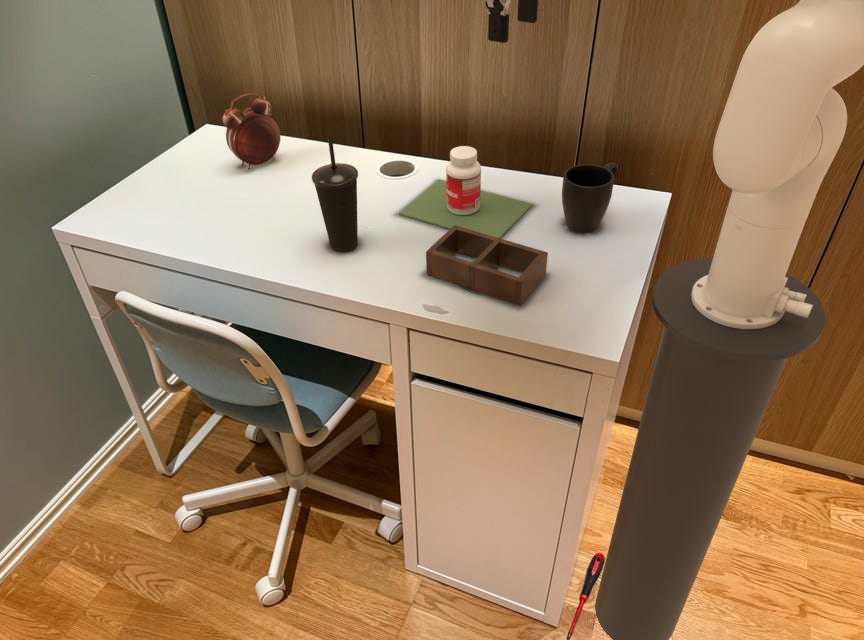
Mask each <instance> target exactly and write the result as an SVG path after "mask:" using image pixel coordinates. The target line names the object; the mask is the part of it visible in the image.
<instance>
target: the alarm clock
mask: <svg viewBox="0 0 864 640" xmlns="http://www.w3.org/2000/svg"><path fill="white" fill-rule="evenodd" d="M252 95H253V96H256V97H257V98H255V99H253V100H252V102H251V103H250V105H249V106H245V107H244V108H243V109H242V110H240V109H238V108H236V107H233V106H234V103H235V102H237V101H238V100H239V99H242V98H244V97H247V96H252ZM230 102H231V103H230V106H229V108H228V109H224V111H223V112H224V113H223V115H222V123H223V125H224V127H225V128H226V131H225V139H226V144H227V146H228V148H229V150H230V152H232V154H233V155H234V156H235V158H237V159H238V160H240V161H241V164H240V166H241V167H245V166H244V165H245V164H247V165H248V167H247V170H251V166H259V165H263V164H265V163H267V162H269V161H270V160H271V159H272V161H276V158H275V157H274V156H276V153H277V152H278V150H279V147H280V144H281V131H280V128H279V125H278V124H277V121H275V120H274V119H273V118H272V117H271V115H272V112H273V107H272V105H271V103H270V102H269V100H267V99H266V95H262V96H261V95H260V94H259V93H257V92H254V91H253V92H245V93H243V94H239V95H238V96H237V97H235V98H234V99H232V100H231V101H230Z"/></svg>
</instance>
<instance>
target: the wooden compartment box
mask: <svg viewBox="0 0 864 640" xmlns="http://www.w3.org/2000/svg"><path fill="white" fill-rule="evenodd" d="M456 253H459V254H462V255H465V256H468V257H472V258H475V259H474V260H473V262H472V261H469V260H467V259H464V258H460V257H456V256H454V255H455V254H456ZM548 256H549V252H548V251H544V250H541V249H538V248H535V247H530V246H527V245H524V244H520V243H517V242H514V241H511V240H507V239H504V238H497V237H494V236H490V235H487V234H483V233H480V232H476V231H473V230H470V229H466V228H463V227H459V226H456V225H454V226H453V227H452V228H451V229H448V230H447V232H445V233H444V234H443V235H441V237H439V239H438V240H437V241H435V242H434V244H432V245H431V246H430V247H429V248H428V249H427V250H426V251H425V263H426V264H425V265H426V275H428V276H430V277H433V278H436V279H439V280H442V281H446V282H448V283H452V284H455V285H458V286H460V287H463V288H467V289H469V290H472V291H474V292H478V293H481V294H484V295H487V296H489V297H493V298H496V299H499V300H502V301H505V302H508V303H511V304H514V305H517V306H522V304H523V303H524V302H525V301H526V299H528V297H529V296H530V295H531V294H532V292H533V291H534V290H535V289H536V288H537V287H538V286H539V284H540V283H541V282H542V281H543V280H544V278H546V276H547V269H548V267H547V266H548V258H549V257H548ZM498 266H501V267H504V268H508V269H510V270H514V271H517V272H520V273H521V274H520V275H519V276H517V275H514V274H511V273H507V272H504V271H501V270H498V269H496V268H497V267H498Z"/></svg>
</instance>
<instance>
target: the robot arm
mask: <svg viewBox="0 0 864 640" xmlns="http://www.w3.org/2000/svg"><path fill="white" fill-rule="evenodd" d="M511 2H512V0H503V2H501V1H500V0H485V7H486V13H487V15H488V23H487V24H488V25H487V26H488V27H487V39H488V42H495V43H502V44H506V43H507V42H509V36H510V14H509V13H508V10H509V7H510V5H511ZM538 9H539V0H517V21H518V22H522V23H530V24H534V23H536V22H537V21H538V12H539V11H538ZM863 66H864V0H799V1H798V3H796V4H795V5H793V6H792V7H790V8H788V9H786V10H784V11H782V12H781V13H779V14H777V15H776V16H774V17H773V18H771V19H770V20H768V21H767V22H766V23H765V24H764V25H763V26H762V27H760V29H759V30H758V31H757V33H756V34H755V35H754V36H753V38H752V39H751V41H750V42H749V44H748V46H747V48H746V49H745V51H744V53H743V56H742V58H741V60H740V63H739V65H738V68H737V71H736V74H735V76H734V80H733V83H732V87H731V89H730V91H729V94H728V97H727V100H726V104H725V106H724V109H723V112H722V115H721V118H720V121H719V124H718V127H717V130H716V133H715V137H714V141H713V146H712V160H713V165H714V169H715V172H716V173H717V176H718V178H719V179H720V180H721V182H722V183H723V184H724V186H726V187H727V188H728V189H730V190H732V191H731V194H730V197H729V202H728V203H727V208H726V210H725V211H726V212H725V215H724V219H723V221H722V225H721V229H720V232H719V236H718V240H717V242H716V245H715V246H716V247H715V251H714V253H713V256H712V257H713V260H712V264H711V267H710V271H709V274H708V275H707V276H704V277H702V278H701V279H699V280H698V281H697V282H696V283H695V284H694V286H693V289H692V293H691V300H692V302H693V305H694V306H695V308H696V309H697V310H698V311H699V312H700V313H701V314H702V315H704V316H705V317H707V318H708V319H710V320H712V321H714V322H716V323H718V324H721V325H724V326H728V327H732V328H737V329H761V328H765V327H769V326H771V325H773V324H775V323H777V322H778V321H779V320H780V319H781V318H782V317H783V315H784V312H785V311H786V312H789V313H793V314H794V315H798V316H801V317H805V318H808V316H809V314H810V311H811V309H812V306H813V305H811V304H807V303H804V300H805V298H806V294H802V293H798V292H793V291H789V288H786V287H785V285H786V282H787V279H788V278H787V277H785V275H786V273H787V272H788V270H789V267H790V265H791V262H792V259H793V256H794V254H795V251H796V249H797V245H798V243H799V240H800V238H801V235H802V232H803V230H804V227H805V224H806V221H807V220H808V217H809V215H810V212H811V209H812V208H813V207H812V206H813V204H814V201H815V199H816V197H817V194H818V192H819V189H820V187H821V185H822V183H823V180H824V178H825V177H826V175H827V173H828V171H829V169H830V167H831V165H832V163H833V161H834V159H835V157H836V155H837V154H838V151H839V149H840V147H841V145H842V142H843V140H844V137H845V134H846V130H847V125H848V111H847V107H846V104H845V102H844V99H843V98H842V96H841V95H840V94H839V92H837V91H836V90H835V88H833V87H835V86H837V85H838V84H840V83H842V82H843V81H844V80H846V79H847V78H849V77H851V76H852V75H854V74H855V73H857V72H858V71H859V70H861V68H863Z"/></svg>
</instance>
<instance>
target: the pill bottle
mask: <svg viewBox="0 0 864 640" xmlns="http://www.w3.org/2000/svg"><path fill="white" fill-rule="evenodd" d="M449 159H450V161H449V162H448V164H447V165H446V167H445V177H446V179H445V181H446V192H447V208H448V210H449V211H450V212H451V213H453V214H455V215H470V214H473V213H475V212H477V211H478V210H479V208H480V202H481V191H482V165H481V164H480V162H479V161H478V150H477V149H476V148H474V147H472V146H468V145H459V146H456V147H454V148H452V149H451V150H450V151H449Z"/></svg>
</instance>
